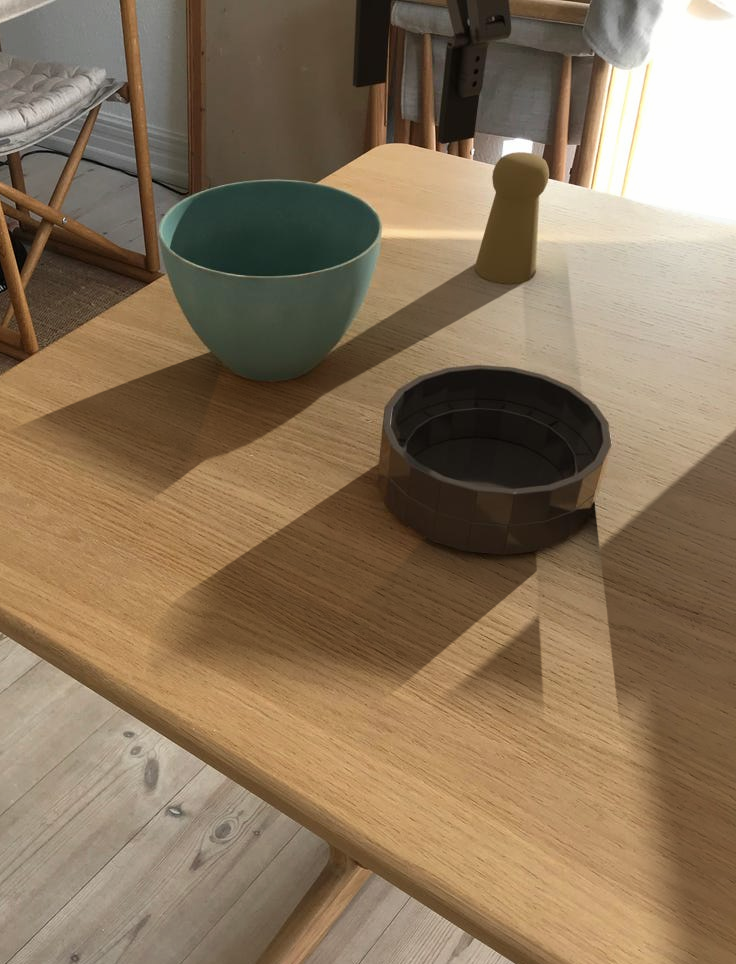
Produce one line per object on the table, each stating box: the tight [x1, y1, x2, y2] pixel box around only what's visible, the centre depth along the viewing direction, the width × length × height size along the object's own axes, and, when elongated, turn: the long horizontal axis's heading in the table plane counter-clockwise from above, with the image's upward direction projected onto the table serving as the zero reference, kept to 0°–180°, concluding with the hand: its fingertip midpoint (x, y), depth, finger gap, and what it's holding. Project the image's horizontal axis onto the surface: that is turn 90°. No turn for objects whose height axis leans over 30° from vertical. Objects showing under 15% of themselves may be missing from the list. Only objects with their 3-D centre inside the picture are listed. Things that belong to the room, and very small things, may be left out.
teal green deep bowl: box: [158, 179, 383, 383], centre depth 89 cm, size 18×18×12 cm
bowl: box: [376, 364, 613, 556], centre depth 77 cm, size 16×16×6 cm
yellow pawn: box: [474, 151, 550, 285], centre depth 101 cm, size 6×6×11 cm
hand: (410, 110), depth 81 cm, fingers open, 13 cm apart
